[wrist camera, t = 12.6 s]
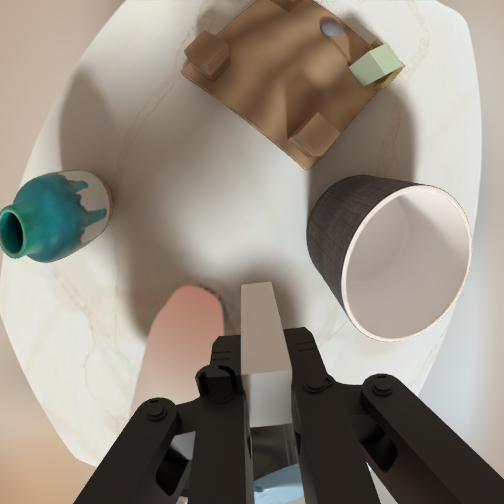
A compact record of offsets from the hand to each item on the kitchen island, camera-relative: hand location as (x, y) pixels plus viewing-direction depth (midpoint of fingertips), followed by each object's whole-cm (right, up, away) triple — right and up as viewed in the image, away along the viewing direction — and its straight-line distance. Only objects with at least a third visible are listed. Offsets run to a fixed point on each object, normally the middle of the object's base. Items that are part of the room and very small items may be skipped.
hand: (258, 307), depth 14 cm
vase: (-25, +10, +24) cm, 36 cm away
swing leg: (+13, +31, +16) cm, 37 cm away
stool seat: (+6, +29, +19) cm, 35 cm away
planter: (+16, +6, +27) cm, 32 cm away
